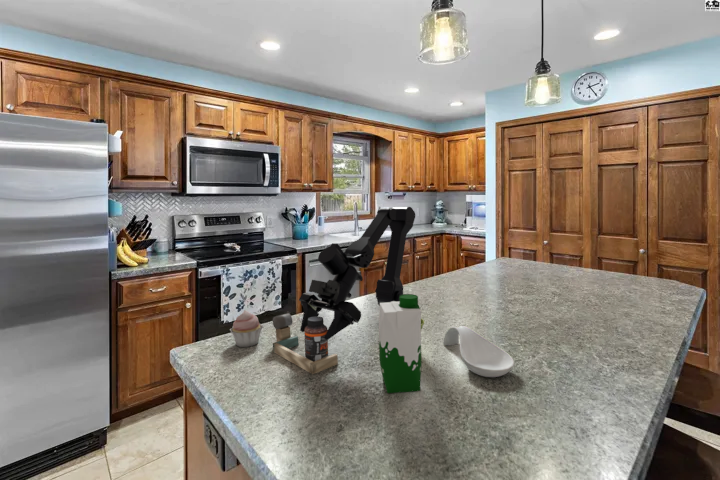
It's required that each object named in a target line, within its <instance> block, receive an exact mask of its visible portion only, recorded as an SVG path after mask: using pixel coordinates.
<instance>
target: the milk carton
mask: <svg viewBox="0 0 720 480" xmlns="http://www.w3.org/2000/svg"><path fill="white" fill-rule="evenodd" d="M403 294H404V295H400V297H399V300H400V301H397V302H396V301H391V302H386V303H380V306H379V307H378V308H379V309H378V310H379V312H378V353H379V357H378V359H379V366H380V371H381V375H382V376H381V377H382V380H383V383H384V386H385V390H386V393H387V394H396V393H397V394H398V393H411V392H412V393H413V392H420V391H421V381H422V380H421V378H422V329H421V318H422V310H421V308H420V305H419V296H418V295H417V294H413V293H412V294H410V293H406V294H405V293H403Z"/></svg>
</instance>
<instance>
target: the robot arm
mask: <svg viewBox="0 0 720 480" xmlns="http://www.w3.org/2000/svg"><path fill="white" fill-rule="evenodd" d="M415 219H416V211H415V210H414V209H413V207H411V206H393V207H380V208H378V210H377V212H376V215H375V216H374V217H373V219H372V221H371V222H370V224H369V225H368V226H367V227H366V230H365V231H364V232H363V234H362V235H361V236H360V237H359V239H357V240H355V241H352V242H351V243H350V244H349V245H348V246H347V248H346V249H345V251H343V250H342V248H341V247H340V245H339V244H338V243H331V244H330V246H327V247H326V248H324V249H322V250H321V251H320V252H319V253H318V256H317V257H318V259H317V260H318V262H319V263H320V264H321V265H322V266H323V268H324V269H326V270H327V272H328V273H329V274H330V275H332V276H334V277H333V279H328V280H327V281H326V282H325V281H322V280H315V279H311V281H310V282H311V283H310V286H309V289H308V292H304V293H301V295H300V297H299V299H298V301H299V302H300V304H301V306H302V307H303V315H302V320H301V324H300V330H299V331H300V332H301V333H304V330H305V328H306V327H307V326H308V318H310V317H315V316H319V315H320V313H319V312H321V311H322V309H323V310H327V311H332V312H333V319H332V321H331V322H330V325H329V327H327V332H326V335H325V339H326V340H330V339H331V338H332V337H334V336H335V335H336V334H338V333H339V332H341V331H342V330H344V329H345V328H347V327H349V326H350V325H354V323H357V324H358V323H359V322H360V320H361V319H362V312H361V310H360V309H359V308H358V307H357V306H356V305H355V303H353V302H351V301H346V300H347V298H350V299H351V297H352V293H351V291H352V289H353V287H354V285H355V283H356V282H357V281H359V282H363V279H364V278H363V275H362V271H361V270H358V269H356V268H360V269H364V268H365V269H366V268H368V267H369V266H370V264H371V262H372V261H373V258H374V256H375V247H376V245H377V244H378V242H379V241H380V239H381V237H382V236H383V234H385V232H386V231H387V229H388V227H389V229H390V231H391V233H390V240H389V245H388V250H387V251H388V253H387V259H386V265H385V270H384V275H383V276H382V278H381V279H378V280H377V281H376V288H375V290H374V292H375V298H376V301H377V304H378V306H379V307H380V303H386V302H391V301H396V302H397V301H400V300H399V297H400V295H404V294H405V293H404V285H403V283H402V280H401V273H402V272H401V271H402V268H403V267H402V266H403V261H404V253H405V248H406V247H405V246H406V241H407V240H406V239H407V235H408V234H409V233H410V231H411V230H412V228H413V227H414V222H415ZM309 292H310V293H309ZM314 293H315V294H317V296H316V295H315V294H314ZM320 299H321V300H320Z"/></svg>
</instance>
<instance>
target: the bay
mask: <svg viewBox="0 0 720 480" xmlns="http://www.w3.org/2000/svg"><path fill="white" fill-rule="evenodd" d="M296 346H299V336H297V335H294V336H292V337H291V338H288V339H284V340H281V341H278V342H276V341H275V342H272V353H274V354H276V355H278V356H280V357H281V358H283V359H285V360H286V361H288V362H290V363H292V364H294V365H296V366H297V367H299V368H301V369H303V370H304V371H306V372H307V373H308V374H309V373H310V374H312V375H315V374H317V373H319V372H322V371H324V370H325V371H326V370H327V369H329V368H332V367H335V366H337V365H339V361H338V358H339V356H338V354H337V353H333V354H330V355H328V356H327V357H325V358H322V359H320V360H317V361H314V362H313V361H311V360H309V359H307V358H305V356H303V355H301V354H299V353H297V352H296V351H293V350H291V348H294V347H296Z"/></svg>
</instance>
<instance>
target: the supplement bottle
mask: <svg viewBox="0 0 720 480" xmlns="http://www.w3.org/2000/svg"><path fill="white" fill-rule="evenodd" d="M324 321H325V320H324V317H322V316H319V315H318V316H315V317H310V318H308V326H307V327H306V328H305V330H304V332H303V333H304V352H305V354H304V355H305V356H304V357H305V358H307V359H309V360H311V361H313V362H314V361H317V360H320V359H322V358H325V357H327V356H329V342H328V340H326V339H325V335H326V332H327V330H328V327H327V325H325V323H324Z"/></svg>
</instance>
